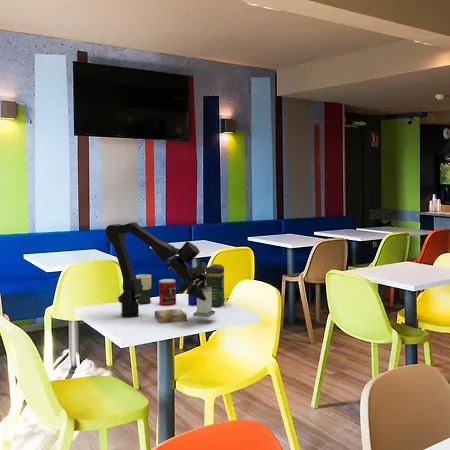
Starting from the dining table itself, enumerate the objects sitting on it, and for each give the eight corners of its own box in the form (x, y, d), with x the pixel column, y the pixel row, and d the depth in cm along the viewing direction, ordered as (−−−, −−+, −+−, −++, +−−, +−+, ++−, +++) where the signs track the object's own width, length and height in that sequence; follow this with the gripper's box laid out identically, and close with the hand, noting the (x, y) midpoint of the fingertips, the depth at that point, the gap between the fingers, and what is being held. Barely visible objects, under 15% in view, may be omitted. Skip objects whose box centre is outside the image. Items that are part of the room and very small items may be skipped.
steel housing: (193, 316, 216) (193, 288, 215) (200, 312, 222) (200, 285, 221) (208, 317, 213) (208, 290, 212) (214, 313, 219) (214, 287, 218)
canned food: (163, 306, 245) (162, 282, 244) (156, 303, 252) (156, 279, 251) (178, 304, 249) (178, 281, 248) (172, 301, 256) (171, 278, 255)
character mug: (141, 300, 259) (140, 273, 258) (155, 300, 258) (154, 273, 256) (132, 305, 249) (131, 277, 248) (146, 305, 247) (146, 277, 246)
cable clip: (201, 300, 258) (201, 288, 257) (209, 301, 255) (208, 289, 255) (185, 305, 248) (185, 292, 247) (193, 306, 245) (193, 293, 245)
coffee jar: (221, 307, 242) (220, 266, 240) (204, 306, 244) (203, 266, 242) (226, 303, 251) (225, 263, 250) (209, 302, 253) (209, 262, 252)
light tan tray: (159, 323, 216) (159, 316, 215) (154, 317, 226) (154, 310, 226) (186, 320, 219) (186, 314, 219) (180, 314, 229) (180, 308, 229)
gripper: (184, 259, 208) (211, 290, 205) (204, 253, 226) (229, 281, 223) (166, 278, 212) (192, 308, 209) (187, 271, 229) (211, 299, 226)
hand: (207, 298), depth 216 cm, fingers closed on steel housing, 4 cm apart
